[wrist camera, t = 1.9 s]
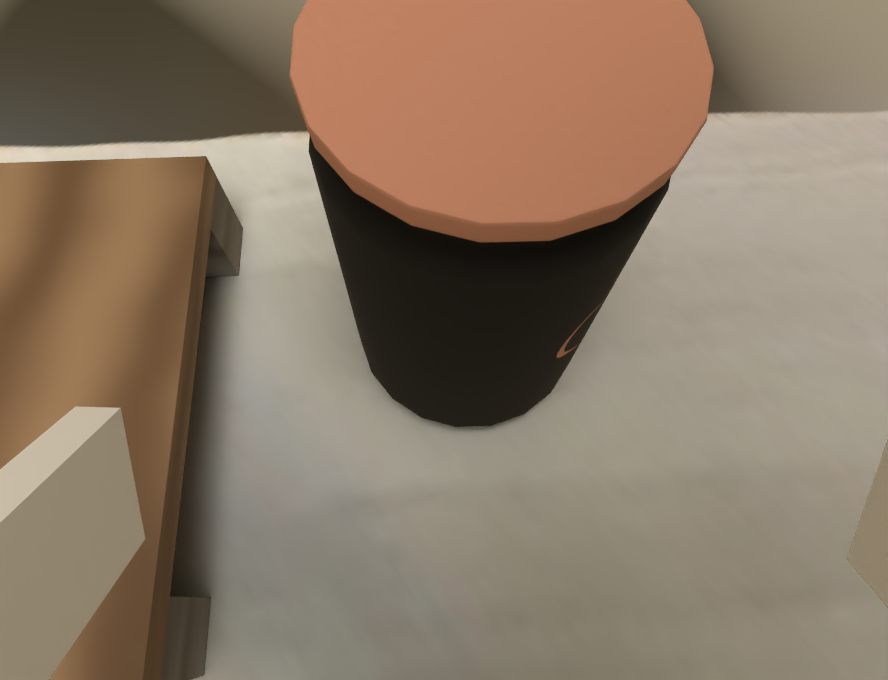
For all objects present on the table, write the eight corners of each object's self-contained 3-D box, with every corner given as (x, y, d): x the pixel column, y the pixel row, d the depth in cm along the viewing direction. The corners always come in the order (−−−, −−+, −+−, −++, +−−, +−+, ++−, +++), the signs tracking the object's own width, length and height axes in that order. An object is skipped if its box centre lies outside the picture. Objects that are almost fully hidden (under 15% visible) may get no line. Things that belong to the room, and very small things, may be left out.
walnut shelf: (242, 228, 34) (206, 156, 29) (203, 675, 26) (140, 695, 20) (-15, 237, 34) (-103, 166, 28) (-144, 697, 25) (-306, 724, 20)
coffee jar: (564, 446, 30) (731, 250, 13) (346, 420, 30) (238, 197, 13) (572, 256, 34) (706, -75, 17) (380, 235, 34) (330, -109, 18)
